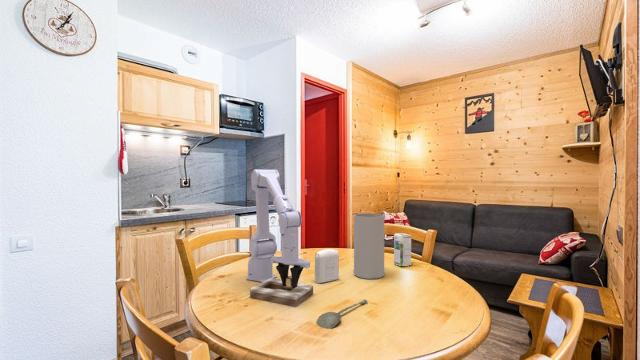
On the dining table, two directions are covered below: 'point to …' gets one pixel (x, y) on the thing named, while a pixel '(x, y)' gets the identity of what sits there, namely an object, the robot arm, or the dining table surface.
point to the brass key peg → (288, 283)
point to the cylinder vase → (369, 245)
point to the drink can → (402, 249)
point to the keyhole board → (278, 299)
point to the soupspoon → (333, 317)
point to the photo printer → (326, 265)
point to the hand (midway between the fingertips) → (290, 286)
